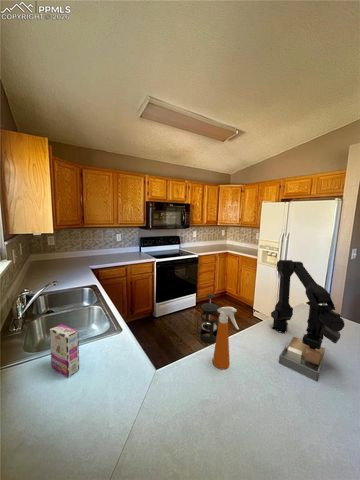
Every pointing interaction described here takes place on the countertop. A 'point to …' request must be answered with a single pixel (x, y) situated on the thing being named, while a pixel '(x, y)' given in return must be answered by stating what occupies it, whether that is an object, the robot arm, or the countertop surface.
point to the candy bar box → (64, 350)
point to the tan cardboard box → (312, 355)
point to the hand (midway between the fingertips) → (312, 351)
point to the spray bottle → (223, 338)
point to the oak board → (304, 349)
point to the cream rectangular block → (294, 355)
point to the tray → (301, 366)
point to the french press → (208, 322)
